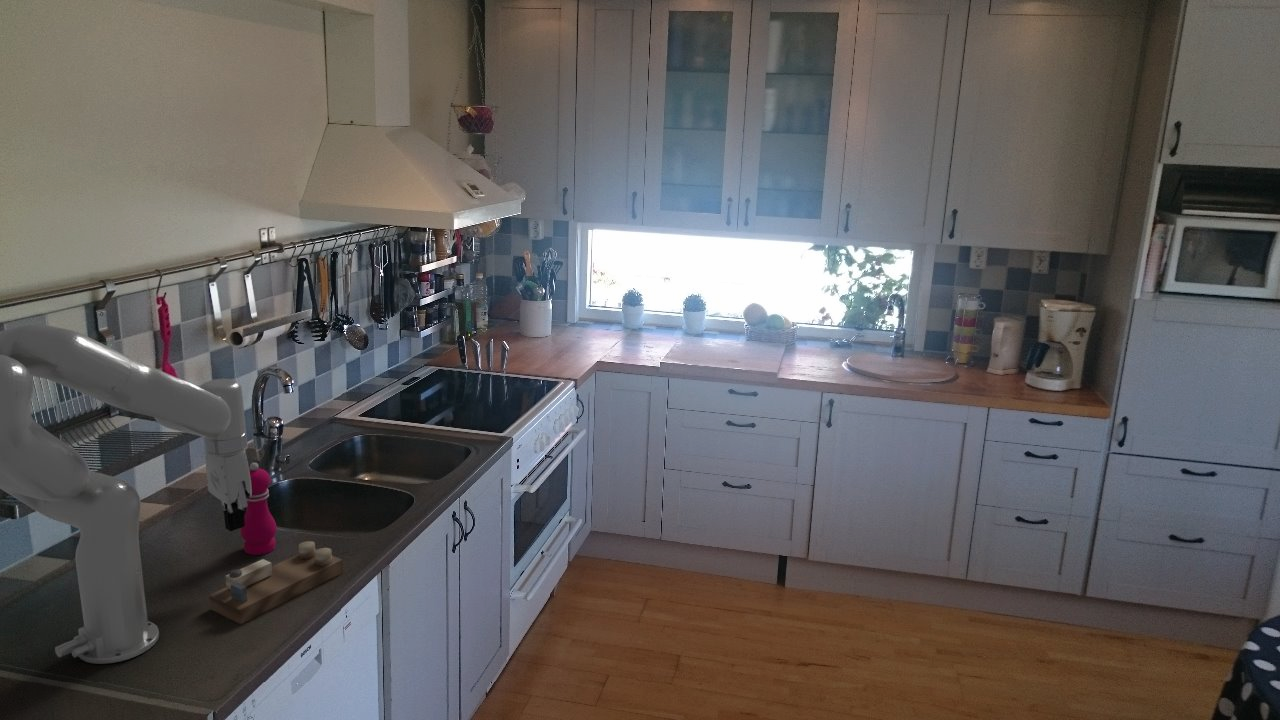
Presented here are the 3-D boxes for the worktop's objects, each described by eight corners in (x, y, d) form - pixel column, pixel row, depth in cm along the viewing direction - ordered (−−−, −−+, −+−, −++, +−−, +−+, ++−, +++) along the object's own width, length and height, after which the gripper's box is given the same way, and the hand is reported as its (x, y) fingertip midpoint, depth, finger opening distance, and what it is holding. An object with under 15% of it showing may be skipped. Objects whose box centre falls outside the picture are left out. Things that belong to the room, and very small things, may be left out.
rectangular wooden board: (240, 624, 166) (238, 595, 164) (210, 609, 170) (207, 580, 169) (343, 572, 186) (341, 546, 184) (313, 560, 190) (311, 534, 189)
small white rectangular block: (235, 591, 170) (233, 576, 170) (226, 587, 172) (225, 572, 171) (272, 574, 177) (271, 559, 177) (263, 570, 179) (262, 556, 178)
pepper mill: (284, 549, 195) (278, 463, 189) (251, 559, 189) (244, 472, 184) (268, 538, 199) (262, 454, 194) (236, 548, 194) (229, 462, 189)
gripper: (189, 437, 175) (200, 521, 181) (223, 458, 166) (233, 547, 171) (228, 427, 181) (237, 510, 186) (263, 448, 171) (271, 534, 177)
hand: (235, 527), depth 179 cm, fingers closed
